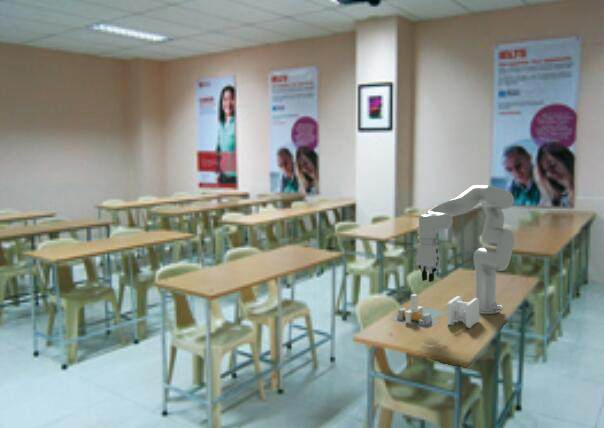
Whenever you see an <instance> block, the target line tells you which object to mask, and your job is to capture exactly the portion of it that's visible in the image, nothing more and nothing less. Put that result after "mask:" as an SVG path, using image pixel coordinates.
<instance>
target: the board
mask: <svg viewBox="0 0 604 428" xmlns="http://www.w3.org/2000/svg"><path fill="white" fill-rule="evenodd" d="M389 321H393V322H397V323H401V324H405V325H409V326H413V327H418V328H421V329H427V328H430V327H432V326H434V325H435V324H439V323H440V322H441V320H437V319H432V317H431V323H429V324H427V325H425V320H421V319H420V320H419V321H415V320H411V323H406V319H405V318H404V319H403V315H400V314H396V316H394V317H392V318H389Z"/></svg>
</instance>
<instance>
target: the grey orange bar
mask: <svg viewBox="0 0 604 428" xmlns="http://www.w3.org/2000/svg"><path fill="white" fill-rule="evenodd" d="M407 309H408V308H407V307H402V308H399V309H397V311H398V312H397V313H398V314H400V315H403V319H404V318H405V312H406V311H408V310H407ZM398 314H397V315H398ZM420 319H421V320H425V325H427V324H429V323H431V314H429V313H425V314H422V313H418V312H414V313H412V314H411V320H415V321H419V320H420Z"/></svg>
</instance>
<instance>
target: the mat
mask: <svg viewBox="0 0 604 428" xmlns="http://www.w3.org/2000/svg"><path fill="white" fill-rule="evenodd" d="M407 310H411V307H410V308H407ZM416 312H418V311H416ZM425 313H429V314H431V317H432V319H433V320H436V319H437V318H439V317H441V316H443V315H447V312H443V311H439V310H436V309H435V310H434V309H429V308H424V307H423V314H425Z"/></svg>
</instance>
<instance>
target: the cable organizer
mask: <svg viewBox="0 0 604 428" xmlns="http://www.w3.org/2000/svg"><path fill="white" fill-rule="evenodd" d="M445 307H446V323H447V324H446V325H448V326H453V325H455V324H456V325H457V324H459V323H458V322H463V324H462V325H465V327H466V328H468V329H471V328H472V327H473V326H474V325H475V324H477V323H478V322H479V319H480V313H479V299H478V298H476V297H474V298H473V299H471V300H470V301H463V296H461V295H457V296H455V297H454V298H452V299H451V300H449V301H448V302H447V303H446V305H445Z"/></svg>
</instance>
